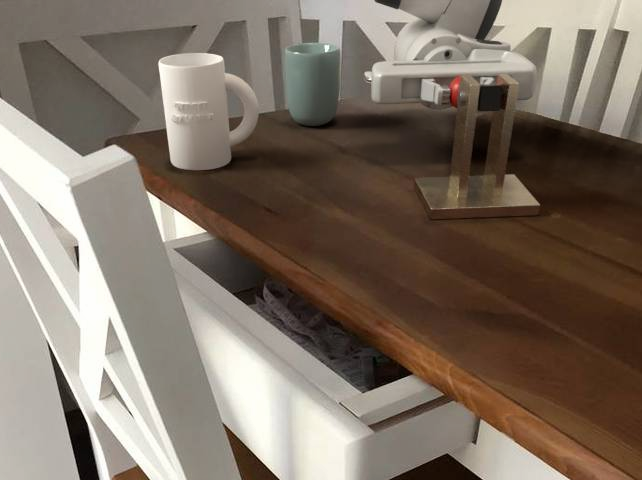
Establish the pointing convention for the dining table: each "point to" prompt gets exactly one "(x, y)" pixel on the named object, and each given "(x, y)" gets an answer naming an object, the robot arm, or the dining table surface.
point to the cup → (312, 82)
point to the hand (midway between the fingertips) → (465, 96)
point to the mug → (202, 110)
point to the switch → (487, 96)
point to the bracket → (494, 186)
